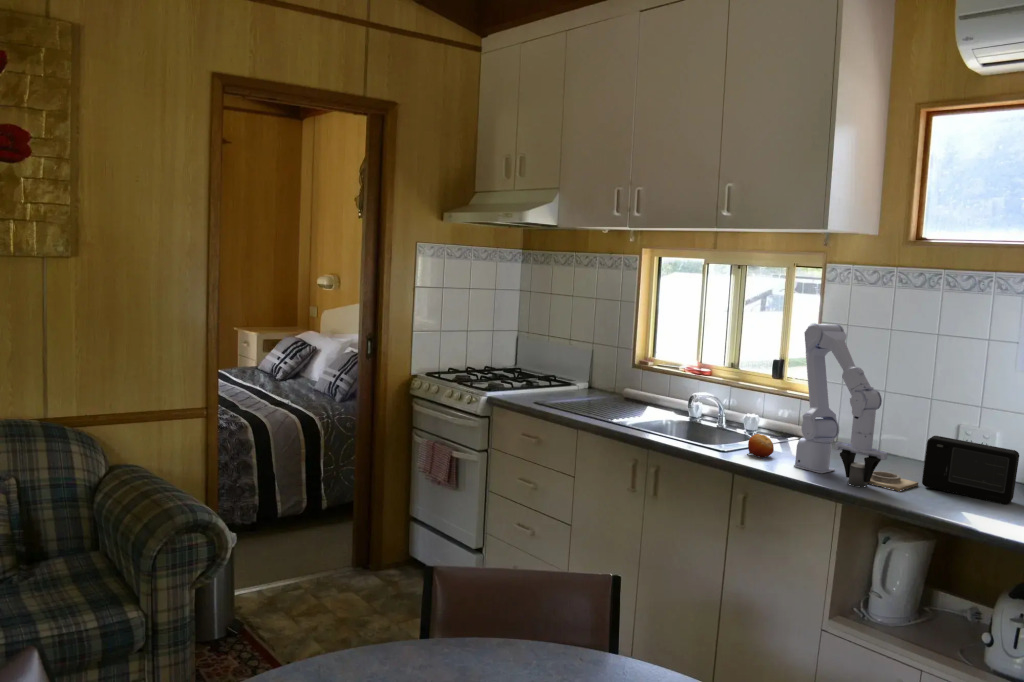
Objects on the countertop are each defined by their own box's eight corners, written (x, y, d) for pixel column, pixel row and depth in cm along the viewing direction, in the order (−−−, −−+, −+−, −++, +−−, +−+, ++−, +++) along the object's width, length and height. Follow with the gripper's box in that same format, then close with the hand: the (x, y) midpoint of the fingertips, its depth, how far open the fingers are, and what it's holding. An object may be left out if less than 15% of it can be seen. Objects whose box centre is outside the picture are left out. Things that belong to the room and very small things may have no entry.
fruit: (750, 446, 276) (763, 428, 273) (768, 463, 272) (781, 445, 268) (737, 449, 271) (750, 431, 267) (755, 466, 266) (769, 448, 263)
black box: (1017, 500, 233) (1023, 446, 232) (1010, 507, 226) (1016, 451, 224) (929, 482, 248) (934, 432, 246) (919, 488, 240) (925, 436, 239)
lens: (845, 484, 240) (847, 463, 239) (854, 481, 243) (856, 461, 243) (861, 488, 236) (863, 467, 236) (870, 485, 240) (872, 465, 239)
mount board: (850, 479, 245) (851, 471, 245) (870, 474, 253) (871, 466, 253) (898, 491, 235) (899, 483, 235) (918, 485, 243) (918, 477, 242)
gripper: (831, 428, 241) (826, 475, 242) (881, 438, 230) (876, 487, 232) (843, 426, 246) (839, 472, 247) (893, 436, 235) (888, 484, 236)
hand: (857, 479), depth 240 cm, fingers closed on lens, 5 cm apart
